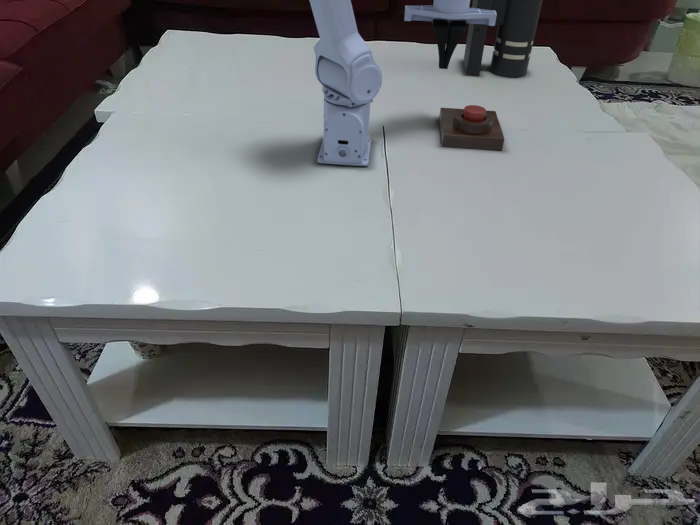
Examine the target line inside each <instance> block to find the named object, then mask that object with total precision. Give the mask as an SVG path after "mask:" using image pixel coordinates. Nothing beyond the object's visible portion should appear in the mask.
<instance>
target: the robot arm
mask: <svg viewBox="0 0 700 525" xmlns="http://www.w3.org/2000/svg"><path fill="white" fill-rule="evenodd" d="M308 1H309V3H310V8H311V10H312V15H313V19H314V22H315V26H316V29H317V32H318V36H319V40H318V41H317V42H316V44H315V45H314V46H313V52H314V55H315V65H314V73H315V74H314V75H315V78H316V80H317V81H318V82H319V84H320V85H322V86H321V91H322V93H323V137H322V142H321V144H320V148H319V152H318V156H317V161H316V162H317V163H318V164H327V165H340V166H353V167H355V166H356V167H368V166H369V160H370V153H371V145H372V139H371V138H369V132H370V131H369V130H370V129H369V128H370V113H371V103H373V102H374V98H376V97H377V95H378V94H379V91H380V89H381V88H382V84H383V73H382V69H381V67H380V65H379V64H378V63H377V62H376V61H375V58H374V56H373V52H372V50H371V47H369V45H368V44H367V43H366V41H365V40H364V38H362V36H361V34H360V33H359V30H358V26H357V23H356V16H355V14H354V13H355V12H354V9H353V5H352V1H351V0H308ZM470 5H471V0H433V4H430V5H405V6H404V15H403V16H404V18H403V20H404V22H411V21H420V22H421V21H422V22H431V26H432V31H433V33H434V34H433V35H434V37H435V40H436V44H437V51H438V52H437V53H438V69H439V70H448V68H449V65H450V61H451V58H452V56H453V54H454V52H455V50H456V48H457V46H458V44H459V43H460V41H461V39H462V38H463V36H464V35H465V34H466V31H467V24H469V23H470V24H488V26H490V27H495V26H496V25H495V21H496V16H497V13H496V11H494V10H484V9H476V8H472V7H470Z"/></svg>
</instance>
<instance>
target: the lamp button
mask: <svg viewBox="0 0 700 525" xmlns="http://www.w3.org/2000/svg"><path fill="white" fill-rule="evenodd" d="M463 109H464V113H463V119H465V120H468V121H471V122H482V121H484V118H485V113H486V111H487V109H486V108H485V107H483V106H481V105H475V104H469V105H466V106H464V108H463Z"/></svg>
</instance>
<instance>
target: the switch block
mask: <svg viewBox="0 0 700 525" xmlns="http://www.w3.org/2000/svg"><path fill="white" fill-rule="evenodd" d="M463 113H464V108H454V107H440V109H439V116H438V122H439V131H440V137H441V138H440V139H441V146H442V148H456V149H457V148H458V149H470V150H471V149H473V150H474V149H475V150H486V151H487V150H488V151H503V147H504V144H505V135H504V133H503V129H502V127H501V123H500V121H499V118H498V115H497V111H496V110H486V113H485V118H484V121H482V122H471V121H468V120H465V119H463Z"/></svg>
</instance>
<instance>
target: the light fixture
mask: <svg viewBox="0 0 700 525" xmlns="http://www.w3.org/2000/svg"><path fill="white" fill-rule="evenodd" d="M543 1H544V0H472V3H471V8H476V9H484V10H494V11H496V13H497V16H496V21H495V26H497V29H496V35H495V37H496V38H494V39H495V40H494V45H493V46H494V47H493V49H494V50H493V51H492V56H491V61H490V67H489V71H490V72H491V73H492V74H495V75H497V76H500V77H505V78H522V77H524V76H526V75H527V72H528V67H529V64H530V59H531V53H532V49H533V46H534V40H535V37H536V33H537V28H538V23H539V18H540V14H541V10H542V5H543ZM488 28H489V27H488V24H470V23H468V29H467V35H466V40H465V49H464V55H463V60H462V61H463V68H464V72H465V73H464V74H465V76H469V77H480V72H481V67H482V61H483V56H484V50H485V43H486V38H487V34H488Z"/></svg>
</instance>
